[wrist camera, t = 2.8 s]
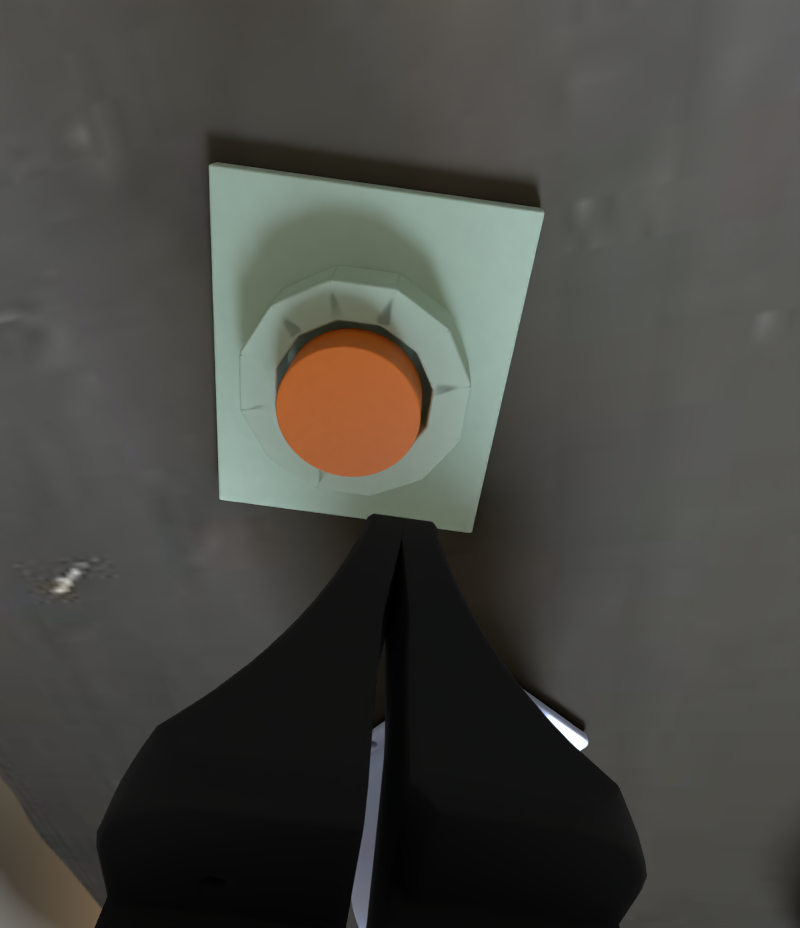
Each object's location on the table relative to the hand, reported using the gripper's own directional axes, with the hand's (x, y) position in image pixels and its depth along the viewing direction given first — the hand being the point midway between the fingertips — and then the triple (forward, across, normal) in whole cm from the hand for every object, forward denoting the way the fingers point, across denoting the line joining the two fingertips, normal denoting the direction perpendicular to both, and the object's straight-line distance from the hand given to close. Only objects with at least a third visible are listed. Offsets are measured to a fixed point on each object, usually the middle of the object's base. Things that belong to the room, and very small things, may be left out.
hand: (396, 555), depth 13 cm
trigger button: (+8, +2, 0) cm, 9 cm away
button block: (+10, +2, 0) cm, 11 cm away
